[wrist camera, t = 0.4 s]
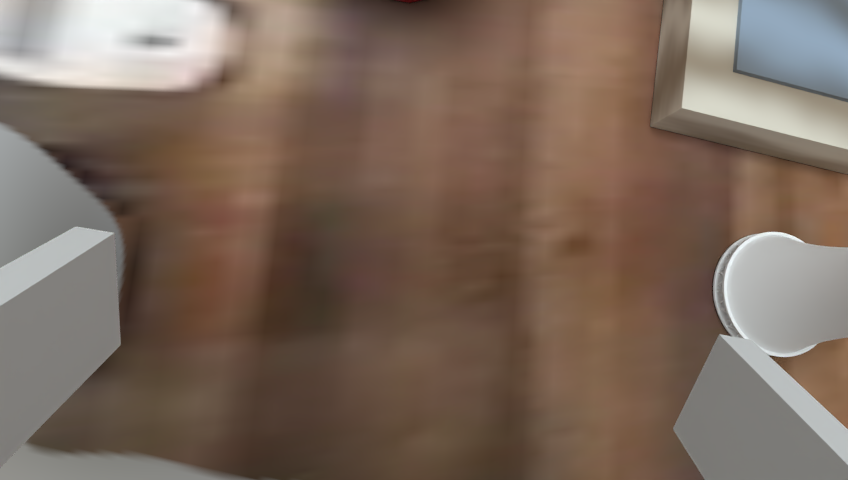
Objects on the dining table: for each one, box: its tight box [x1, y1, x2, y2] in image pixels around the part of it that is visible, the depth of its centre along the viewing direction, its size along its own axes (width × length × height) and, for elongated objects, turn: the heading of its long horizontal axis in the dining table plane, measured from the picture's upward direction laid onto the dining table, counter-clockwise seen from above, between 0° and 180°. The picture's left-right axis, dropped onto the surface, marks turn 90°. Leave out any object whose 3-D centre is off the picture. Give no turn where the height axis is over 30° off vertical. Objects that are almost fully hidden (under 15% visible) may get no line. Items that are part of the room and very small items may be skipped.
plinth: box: [650, 0, 848, 174], centre depth 32 cm, size 18×18×3 cm
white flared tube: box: [713, 232, 848, 357], centre depth 26 cm, size 8×8×10 cm
